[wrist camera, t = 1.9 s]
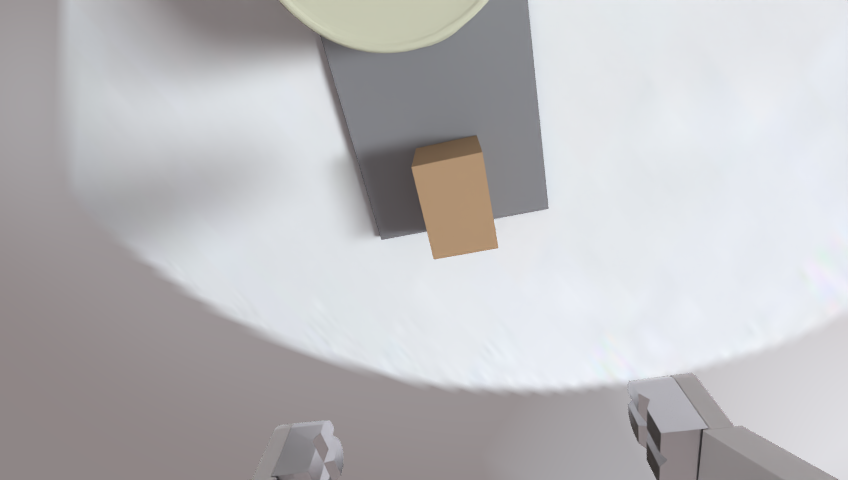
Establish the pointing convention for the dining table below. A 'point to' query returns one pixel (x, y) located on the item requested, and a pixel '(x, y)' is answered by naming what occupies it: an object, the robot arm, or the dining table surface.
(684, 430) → the robot arm
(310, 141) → the dining table surface
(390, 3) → the can
